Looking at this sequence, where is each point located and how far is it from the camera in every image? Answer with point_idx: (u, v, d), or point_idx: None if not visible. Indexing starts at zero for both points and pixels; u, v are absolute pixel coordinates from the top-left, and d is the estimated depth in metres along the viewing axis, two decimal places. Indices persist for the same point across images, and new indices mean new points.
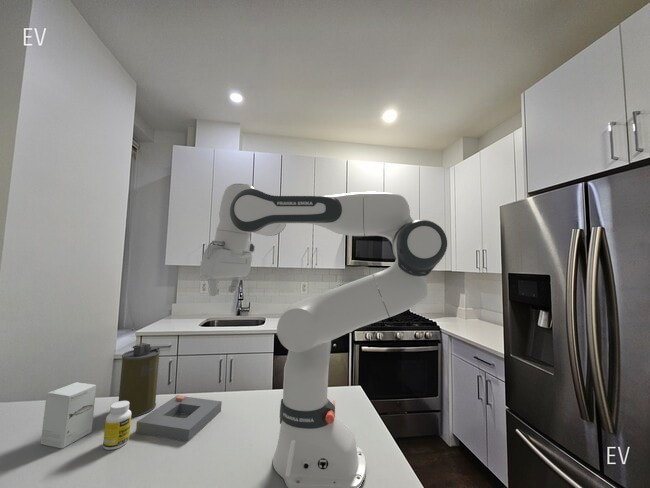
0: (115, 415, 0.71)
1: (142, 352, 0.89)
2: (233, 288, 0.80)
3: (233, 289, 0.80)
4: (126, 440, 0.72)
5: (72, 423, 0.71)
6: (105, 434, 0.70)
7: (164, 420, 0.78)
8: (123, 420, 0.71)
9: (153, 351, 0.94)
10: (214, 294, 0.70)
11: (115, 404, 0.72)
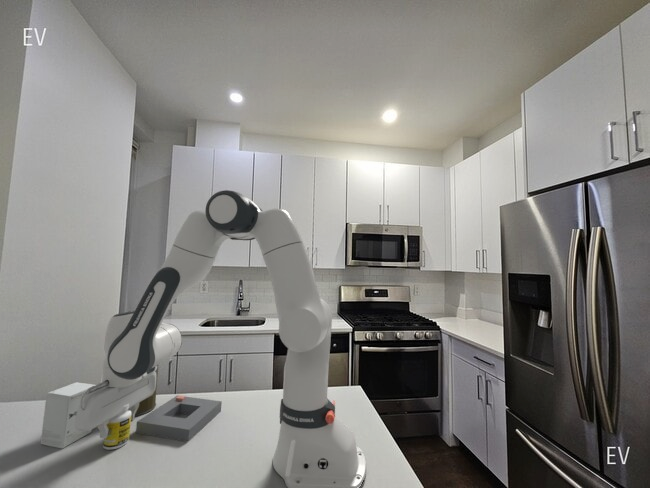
0: None
1: None
2: None
3: None
4: (126, 440, 0.72)
5: (72, 423, 0.71)
6: None
7: (164, 420, 0.78)
8: (123, 420, 0.71)
9: None
10: (104, 436, 0.68)
11: None
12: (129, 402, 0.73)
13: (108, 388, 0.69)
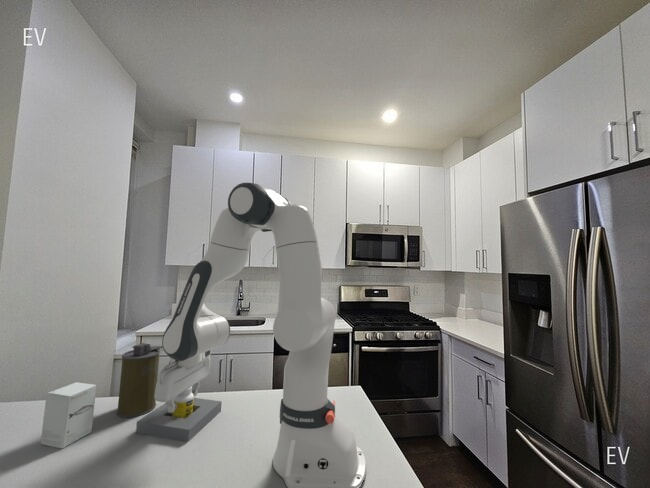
0: (182, 396, 0.82)
1: (142, 352, 0.89)
2: (193, 393, 0.87)
3: (193, 394, 0.87)
4: None
5: (72, 423, 0.71)
6: (174, 412, 0.81)
7: (164, 420, 0.78)
8: (189, 400, 0.82)
9: (153, 351, 0.94)
10: (172, 411, 0.78)
11: None
12: (192, 380, 0.85)
13: (178, 367, 0.80)
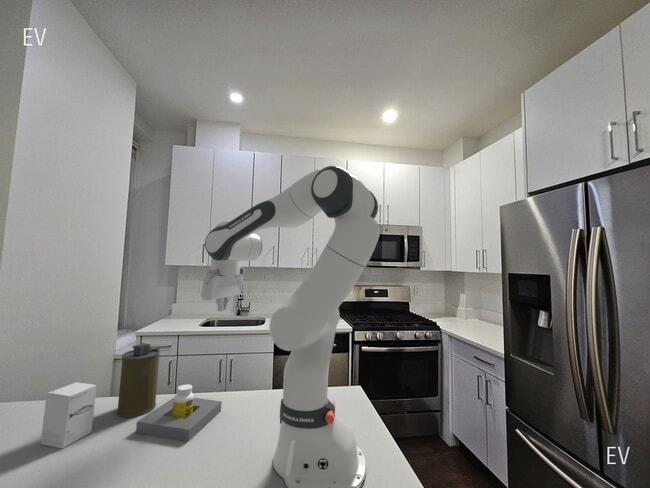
0: (182, 396, 0.82)
1: (142, 352, 0.89)
2: None
3: (223, 308, 0.95)
4: None
5: (72, 423, 0.71)
6: (174, 412, 0.81)
7: (164, 420, 0.78)
8: (189, 400, 0.82)
9: (153, 351, 0.94)
10: (221, 310, 0.93)
11: (181, 387, 0.84)
12: (229, 291, 0.96)
13: (219, 275, 0.91)
